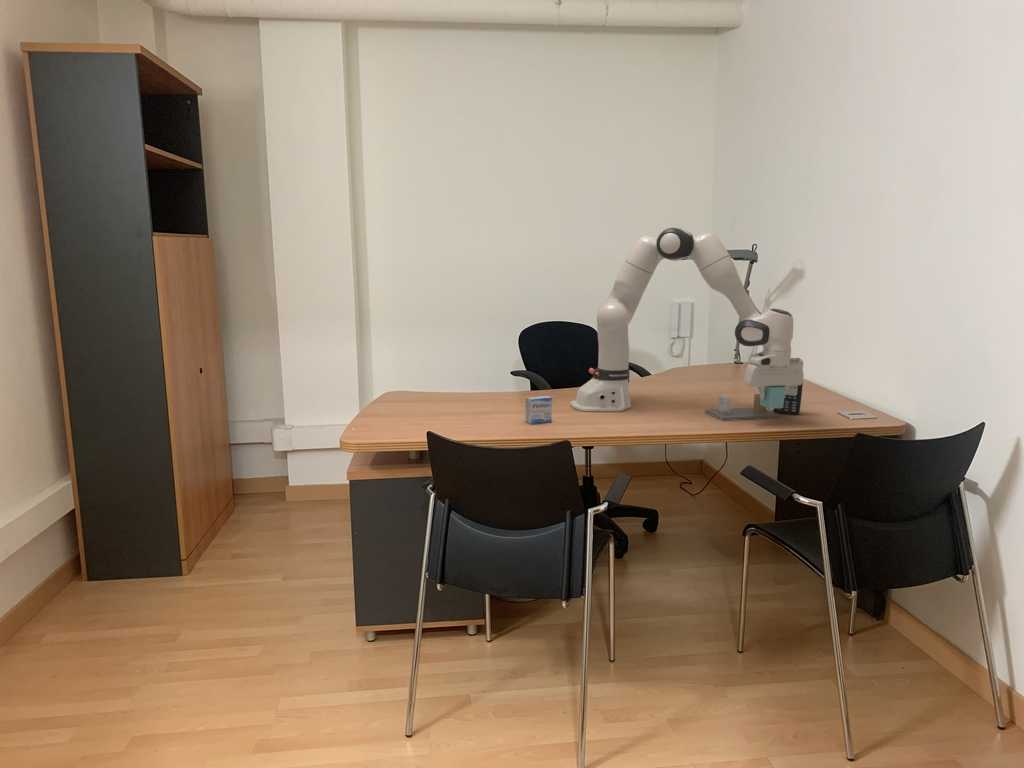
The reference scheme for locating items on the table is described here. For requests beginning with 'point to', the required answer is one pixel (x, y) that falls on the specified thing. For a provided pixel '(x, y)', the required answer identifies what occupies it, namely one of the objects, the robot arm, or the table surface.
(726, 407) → the metal post
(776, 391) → the teal block
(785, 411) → the card reader
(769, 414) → the post board
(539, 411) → the medicine box
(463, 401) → the table surface
